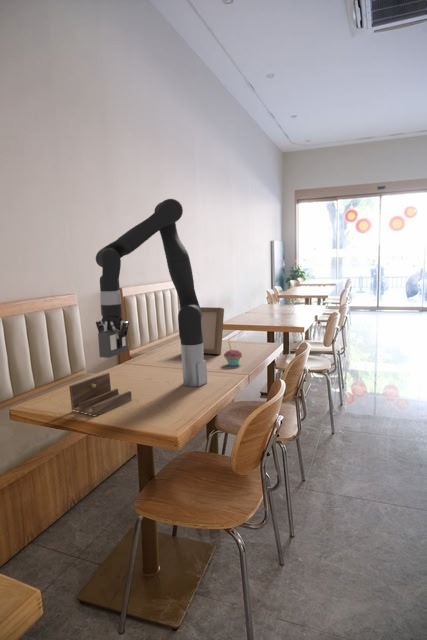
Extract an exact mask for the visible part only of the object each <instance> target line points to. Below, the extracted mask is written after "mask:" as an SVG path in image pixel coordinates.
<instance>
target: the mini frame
mask: <svg viewBox="0 0 427 640" xmlns="http://www.w3.org/2000/svg"><path fill="white" fill-rule="evenodd" d="M121 329H122V327H121ZM117 330H118V329H117ZM118 334H119V333H118ZM97 337H98V349H99V350H98V351H99V352H98V353H99V358H104V359H106V358H107V359H109V358H112V357H115V356H118V355H120V354H122V353H126V352H128V350H129V349H128V347H129V346H128V335H127V336H125V337H123V338H122V348H120V349H117V343H116V339H117V338H116V334H115V333H114V332H113V330H108V331H104V332H100V333H99V332H97Z"/></svg>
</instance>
